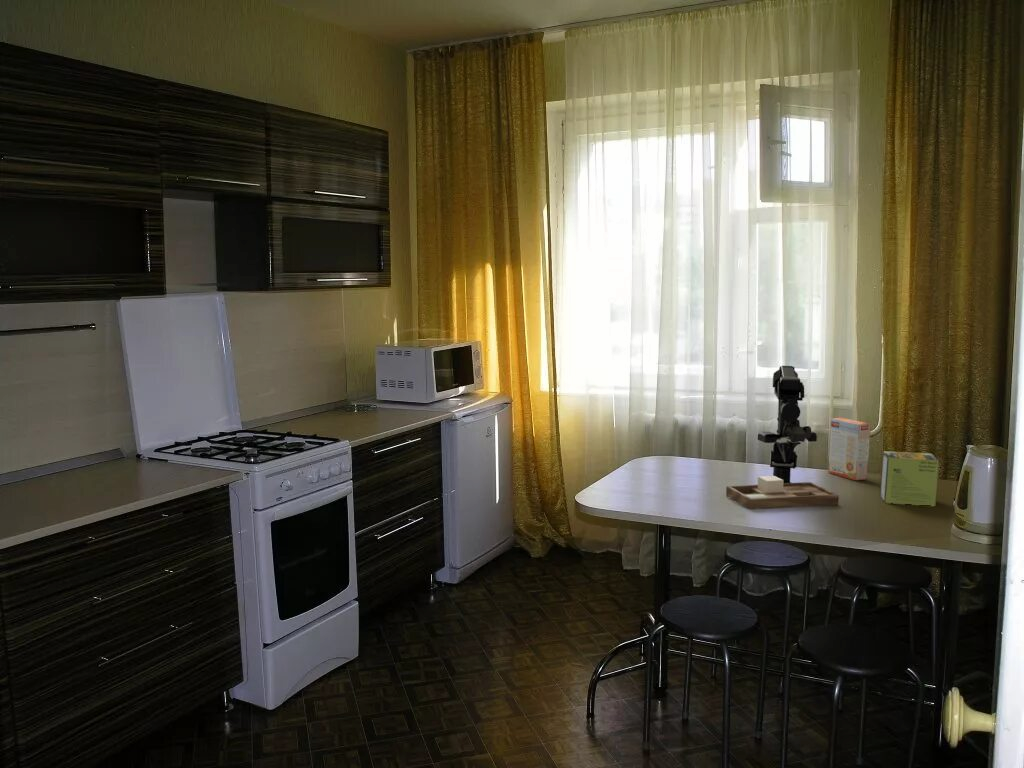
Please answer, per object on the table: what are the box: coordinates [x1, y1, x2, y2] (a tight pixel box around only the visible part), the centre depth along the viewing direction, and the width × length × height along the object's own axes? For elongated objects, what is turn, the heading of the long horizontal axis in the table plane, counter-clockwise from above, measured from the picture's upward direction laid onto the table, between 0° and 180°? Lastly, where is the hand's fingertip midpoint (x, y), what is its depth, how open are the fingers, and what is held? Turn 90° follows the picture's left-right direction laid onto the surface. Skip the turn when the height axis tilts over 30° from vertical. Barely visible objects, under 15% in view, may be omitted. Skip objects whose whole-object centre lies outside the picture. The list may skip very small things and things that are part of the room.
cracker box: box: [827, 417, 872, 481], centre depth 316 cm, size 14×6×21 cm, turn 22°
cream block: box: [757, 475, 784, 493], centre depth 287 cm, size 6×6×4 cm
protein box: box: [879, 450, 940, 507], centre depth 284 cm, size 10×15×16 cm
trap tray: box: [725, 481, 840, 510], centre depth 284 cm, size 17×31×3 cm, turn 102°
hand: (786, 461), depth 287 cm, fingers closed
